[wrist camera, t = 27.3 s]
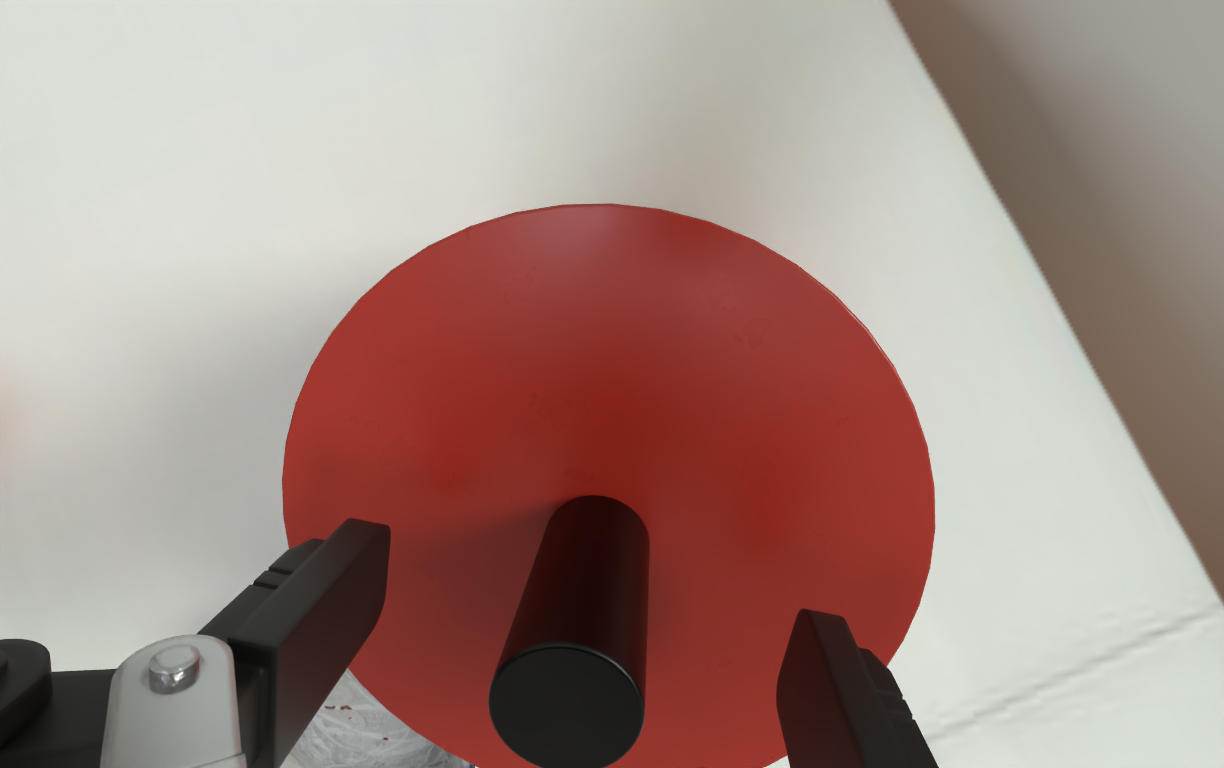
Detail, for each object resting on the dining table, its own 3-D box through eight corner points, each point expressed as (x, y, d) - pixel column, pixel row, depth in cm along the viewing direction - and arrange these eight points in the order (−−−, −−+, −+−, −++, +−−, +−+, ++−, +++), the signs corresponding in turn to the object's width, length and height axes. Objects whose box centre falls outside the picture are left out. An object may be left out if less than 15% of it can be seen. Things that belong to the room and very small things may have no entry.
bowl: (324, 531, 31) (265, 588, 26) (541, 665, 32) (522, 743, 28) (218, 701, 34) (150, 779, 30) (419, 817, 36) (383, 909, 31)
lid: (320, 146, 13) (57, 97, 8) (1009, 273, 13) (1294, 327, 7) (296, 702, 18) (113, 950, 12) (820, 809, 17) (903, 1120, 11)
